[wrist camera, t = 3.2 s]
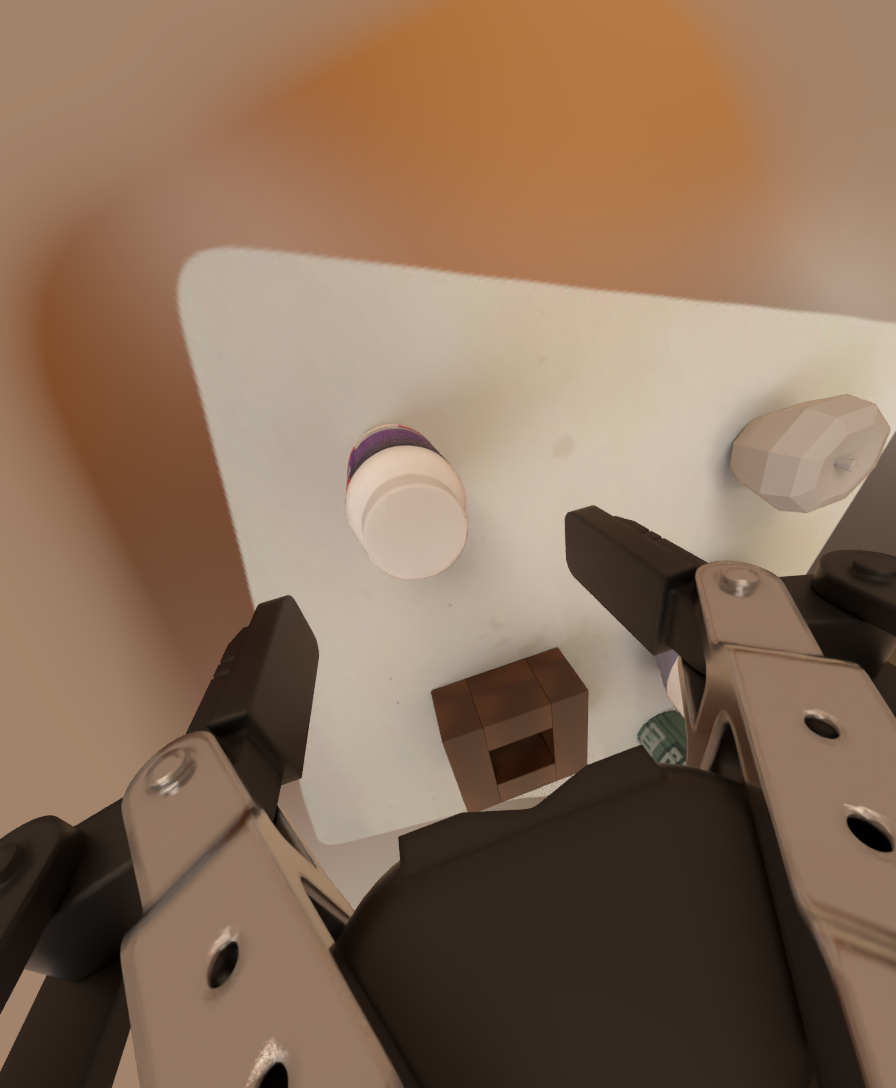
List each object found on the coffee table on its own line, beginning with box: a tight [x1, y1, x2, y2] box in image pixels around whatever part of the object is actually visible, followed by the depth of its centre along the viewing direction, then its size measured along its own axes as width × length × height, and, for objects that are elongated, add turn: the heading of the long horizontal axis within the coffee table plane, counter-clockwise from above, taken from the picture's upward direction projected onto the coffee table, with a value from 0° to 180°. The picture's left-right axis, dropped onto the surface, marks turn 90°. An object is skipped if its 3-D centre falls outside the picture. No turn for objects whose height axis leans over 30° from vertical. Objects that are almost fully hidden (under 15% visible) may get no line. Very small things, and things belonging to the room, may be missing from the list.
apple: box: [730, 394, 890, 513], centre depth 24 cm, size 8×8×7 cm
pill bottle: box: [345, 424, 468, 580], centre depth 17 cm, size 5×5×10 cm
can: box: [637, 711, 687, 765], centre depth 38 cm, size 6×6×15 cm
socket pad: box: [431, 648, 588, 812], centre depth 33 cm, size 13×13×5 cm
